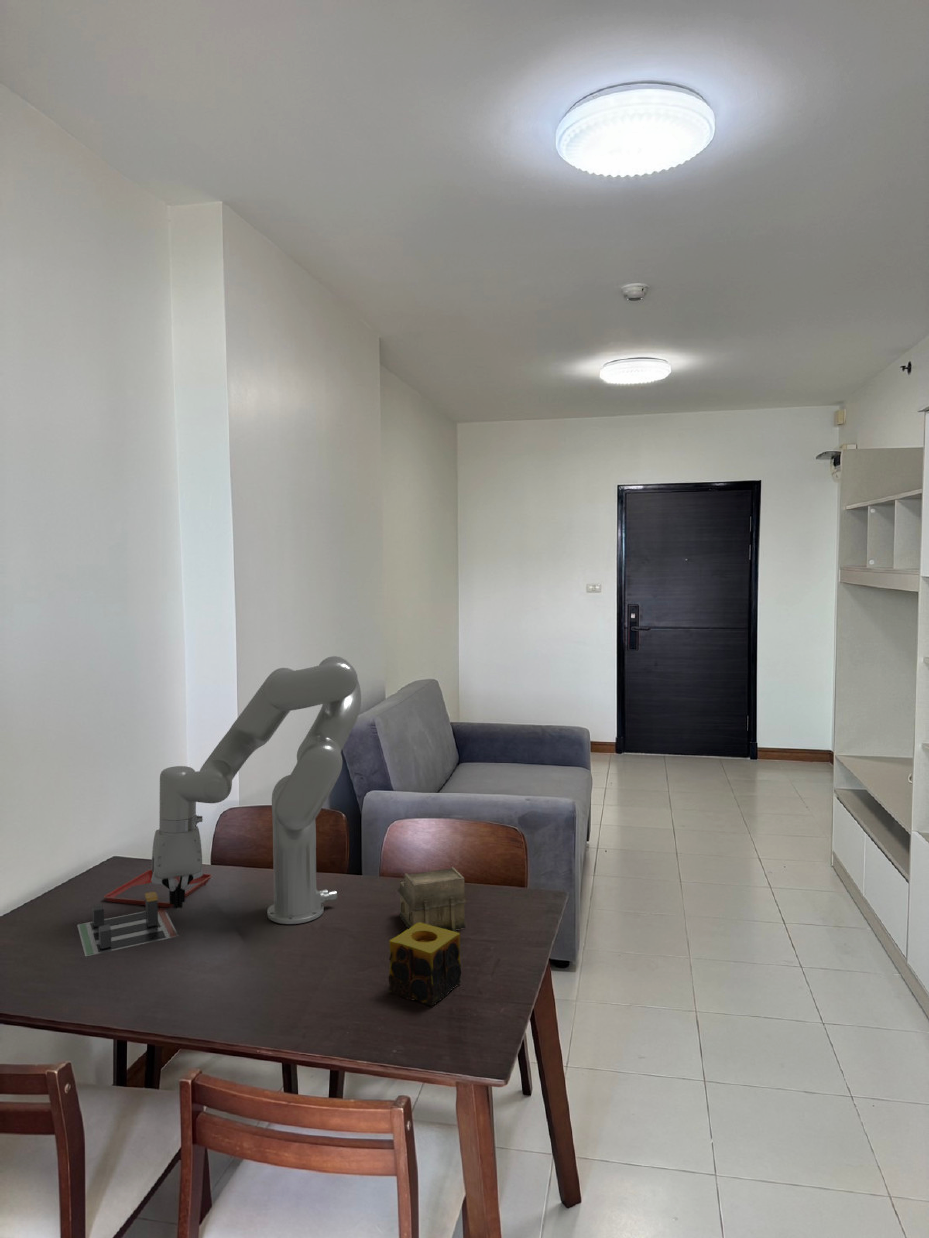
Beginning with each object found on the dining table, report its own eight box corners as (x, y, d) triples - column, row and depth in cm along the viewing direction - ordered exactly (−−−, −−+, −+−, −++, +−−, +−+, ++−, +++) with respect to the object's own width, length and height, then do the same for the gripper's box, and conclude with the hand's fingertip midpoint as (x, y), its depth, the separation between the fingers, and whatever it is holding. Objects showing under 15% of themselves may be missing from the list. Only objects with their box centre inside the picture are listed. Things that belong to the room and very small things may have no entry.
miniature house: (477, 931, 179) (477, 879, 178) (415, 941, 174) (414, 888, 173) (454, 904, 193) (453, 856, 192) (396, 913, 188) (395, 864, 187)
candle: (432, 1008, 147) (432, 954, 147) (387, 993, 152) (386, 940, 152) (462, 984, 156) (462, 932, 155) (418, 970, 161) (418, 920, 160)
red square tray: (102, 909, 191) (102, 895, 191) (149, 881, 209) (149, 868, 209) (171, 917, 187) (171, 902, 187) (213, 887, 205) (213, 874, 204)
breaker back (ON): (102, 919, 180) (102, 903, 180) (104, 924, 178) (103, 908, 178) (92, 921, 179) (92, 905, 179) (94, 926, 177) (93, 910, 177)
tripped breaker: (155, 919, 180) (155, 891, 180) (158, 924, 178) (157, 896, 177) (145, 921, 179) (144, 893, 179) (148, 926, 177) (147, 898, 176)
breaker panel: (164, 913, 188) (163, 906, 188) (179, 942, 173) (178, 935, 173) (77, 931, 179) (77, 924, 179) (85, 963, 164) (85, 955, 164)
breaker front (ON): (109, 940, 170) (109, 924, 170) (111, 946, 168) (111, 929, 167) (99, 942, 169) (98, 926, 169) (100, 948, 167) (100, 931, 166)
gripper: (208, 815, 187) (207, 894, 188) (138, 823, 180) (138, 906, 181) (216, 824, 181) (215, 906, 182) (144, 833, 173) (143, 918, 174)
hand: (177, 905), depth 181 cm, fingers closed
